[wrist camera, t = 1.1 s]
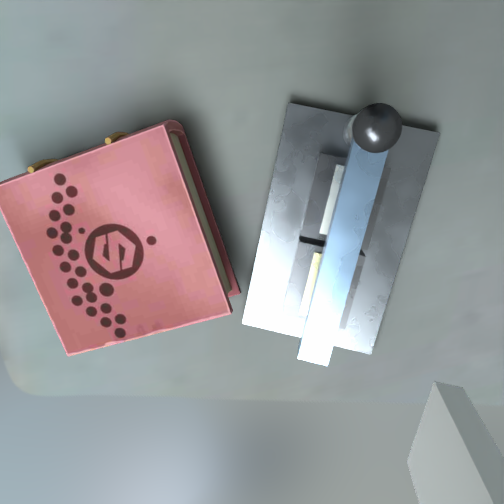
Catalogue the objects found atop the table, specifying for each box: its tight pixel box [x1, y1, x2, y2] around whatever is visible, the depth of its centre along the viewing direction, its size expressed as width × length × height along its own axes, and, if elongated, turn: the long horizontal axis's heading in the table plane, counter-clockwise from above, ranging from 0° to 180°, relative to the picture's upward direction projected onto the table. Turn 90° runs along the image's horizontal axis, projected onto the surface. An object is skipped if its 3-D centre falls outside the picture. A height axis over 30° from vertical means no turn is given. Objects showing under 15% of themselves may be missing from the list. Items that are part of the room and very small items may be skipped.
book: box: [0, 120, 241, 356], centre depth 33 cm, size 14×15×5 cm
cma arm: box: [298, 103, 402, 366], centre depth 25 cm, size 16×3×2 cm, turn 169°
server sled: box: [242, 103, 440, 354], centre depth 30 cm, size 18×11×6 cm, turn 169°
